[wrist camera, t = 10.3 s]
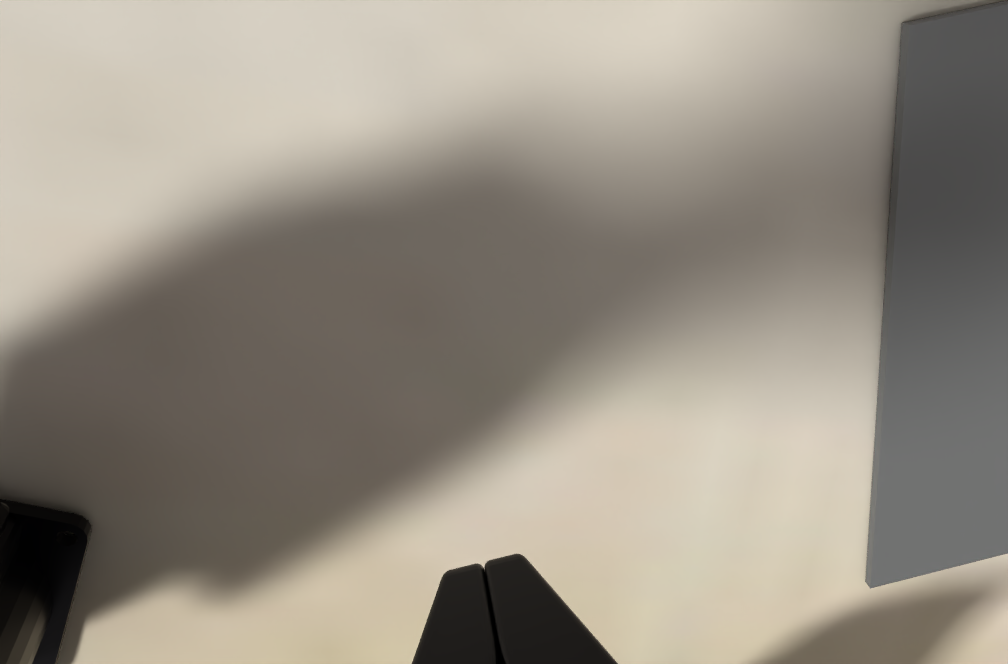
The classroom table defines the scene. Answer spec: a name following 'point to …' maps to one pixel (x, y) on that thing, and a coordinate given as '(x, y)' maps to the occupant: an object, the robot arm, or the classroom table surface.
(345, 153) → the classroom table surface
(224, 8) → the classroom table surface
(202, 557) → the classroom table surface
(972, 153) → the felt mat
